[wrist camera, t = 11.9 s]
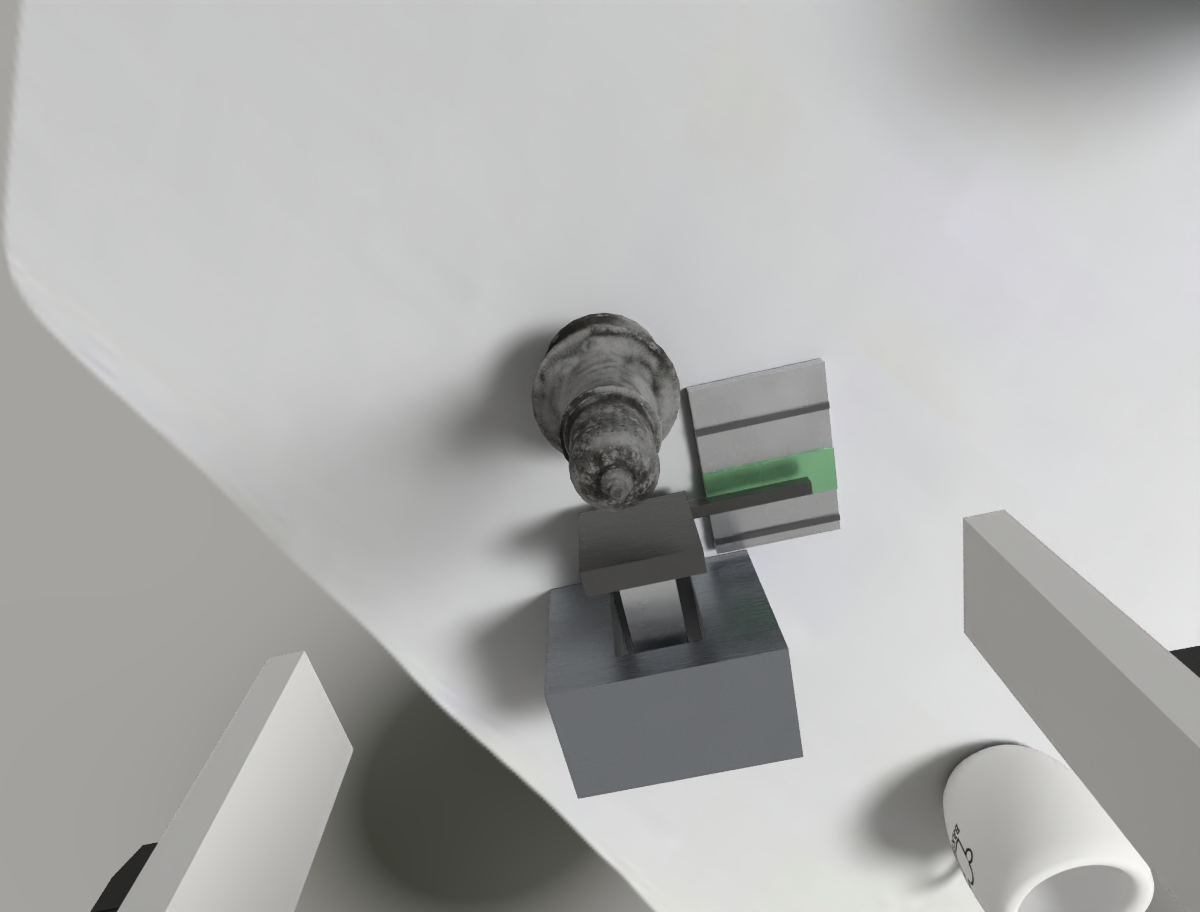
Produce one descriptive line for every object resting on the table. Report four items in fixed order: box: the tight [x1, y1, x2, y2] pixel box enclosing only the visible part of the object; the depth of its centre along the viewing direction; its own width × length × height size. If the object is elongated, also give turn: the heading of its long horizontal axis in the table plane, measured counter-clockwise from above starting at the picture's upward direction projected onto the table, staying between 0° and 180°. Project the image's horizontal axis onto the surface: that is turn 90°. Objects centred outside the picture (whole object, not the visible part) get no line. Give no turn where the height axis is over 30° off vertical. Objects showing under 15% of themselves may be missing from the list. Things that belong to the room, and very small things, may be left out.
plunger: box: [579, 477, 813, 653], centre depth 32 cm, size 9×10×5 cm
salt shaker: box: [532, 313, 680, 512], centre depth 26 cm, size 6×6×12 cm
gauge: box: [545, 359, 840, 799], centre depth 31 cm, size 15×14×8 cm
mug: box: [943, 745, 1154, 912], centre depth 39 cm, size 12×8×8 cm
